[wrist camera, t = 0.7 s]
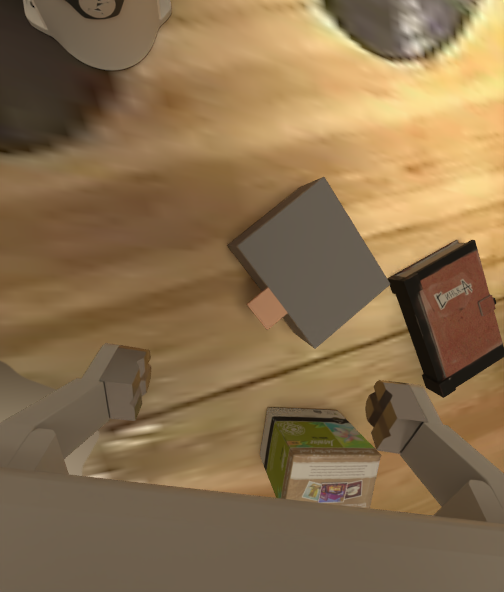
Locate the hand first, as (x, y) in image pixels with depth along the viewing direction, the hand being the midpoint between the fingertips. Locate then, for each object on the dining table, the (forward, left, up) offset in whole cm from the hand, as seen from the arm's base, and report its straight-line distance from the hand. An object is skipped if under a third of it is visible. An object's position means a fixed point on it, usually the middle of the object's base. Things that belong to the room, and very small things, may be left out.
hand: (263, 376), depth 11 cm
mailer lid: (+4, +16, -35) cm, 38 cm away
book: (+21, +47, -43) cm, 67 cm away
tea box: (+35, +12, -43) cm, 57 cm away
